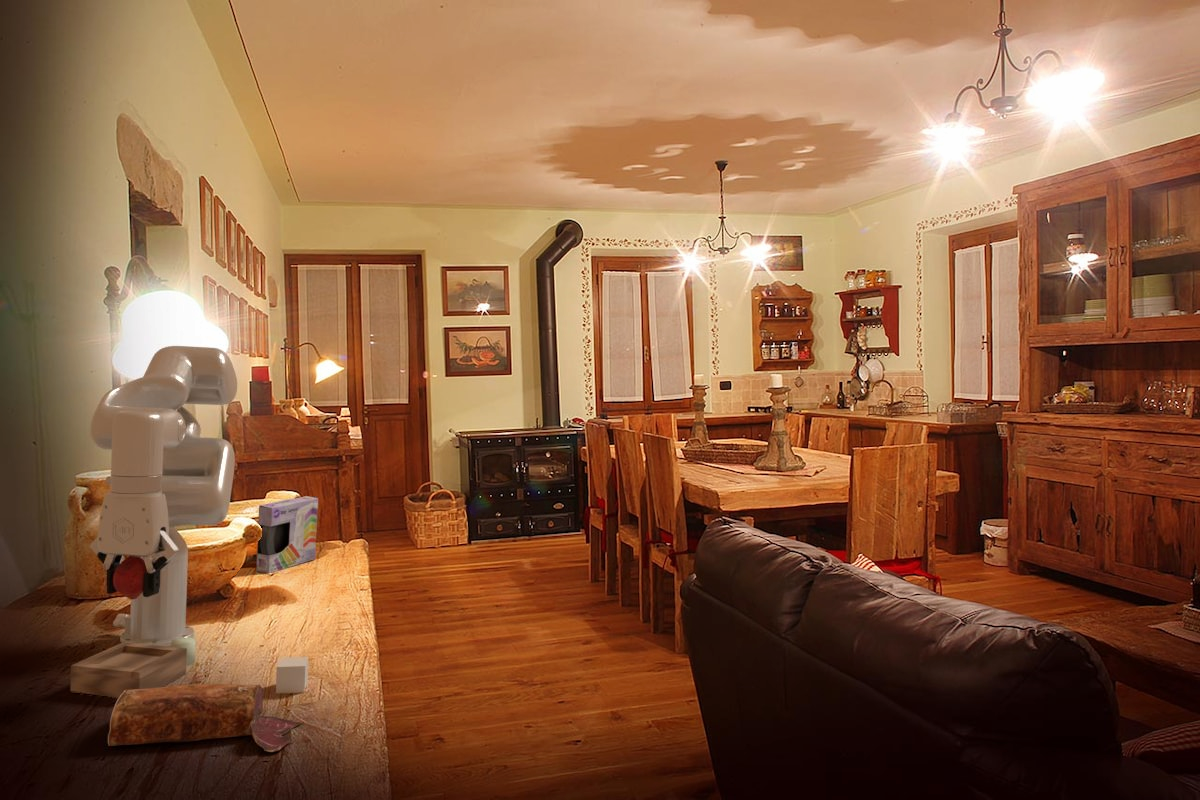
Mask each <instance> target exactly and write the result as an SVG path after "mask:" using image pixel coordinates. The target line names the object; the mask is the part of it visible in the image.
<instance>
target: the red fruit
mask: <svg viewBox="0 0 1200 800" xmlns="http://www.w3.org/2000/svg"><path fill="white" fill-rule="evenodd" d="M146 572H148V571H147V568H146V565H145V562H144V559H142V558H140V557H135V556H127V558H125V559H123V560H122V562H121V564H120V565H119V566H118V567H117V568H116V570H115V572H114V576H113V584H114V587H115V589H116V590H117V591H118V592H117V593H119V594H120V595H122V596H123V597H125V598H127V599H128V600H130V601H131V600H132V599H133V600H134V599H136V598H137V597H138V596H139V595H141V594H142V593H143V576H144V573H146Z"/></svg>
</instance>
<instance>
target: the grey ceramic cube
mask: <svg viewBox="0 0 1200 800" xmlns="http://www.w3.org/2000/svg"><path fill="white" fill-rule="evenodd" d="M309 658H310V657H309V656H303V657H300V656H299V657H295V656H294V657H280V659H279V661H278V663H277V665H276V672H275V673H276V679H275V694H295V693H296V694H298V693H300V692H301V694H302V692H303V693H305V692H306V689H305V688H307V686H308V683H309V681H308V680H309V678H308V677H309ZM307 682H308V683H307ZM306 685H307V686H306Z"/></svg>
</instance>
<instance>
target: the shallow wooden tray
mask: <svg viewBox="0 0 1200 800" xmlns="http://www.w3.org/2000/svg"><path fill="white" fill-rule="evenodd" d="M186 658H187V648H176V647H171V646H170V647H166V646H156V645H146V644H136V643H126V642H123V643H119V644H116V645H114V646H112V647H110V648H107V649H106V650H102V651H100V652H98V653H95V654H94V655H91V656H89V657H87V658H84V659H82V660H80V661H78V662H76V663H73V664H72V665H70V689H69V690H70V691H76V692H82V693H87V694H96V695H103V696H108V697H107V698H110V697H112V699H118V698H119V697H120V695H121V694H122V693H123V692H124V690H135V689H149V688H160V687H166V686H168V685H169V684H172V683H173V682H175V681H176V679H177V680H179V679H180V678H182V677H184V676H186V675H185V674H187V666H186ZM183 675H184V676H183ZM174 680H175V681H174ZM167 684H168V685H167ZM165 685H166V686H165ZM70 691H69V692H70Z"/></svg>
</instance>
